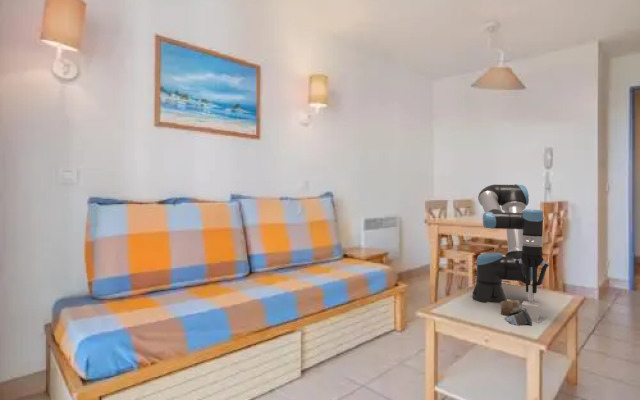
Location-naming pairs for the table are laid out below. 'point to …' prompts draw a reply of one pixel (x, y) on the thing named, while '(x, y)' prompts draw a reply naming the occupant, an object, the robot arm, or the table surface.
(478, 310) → the table surface
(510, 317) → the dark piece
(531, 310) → the plain block
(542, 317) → the mat
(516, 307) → the beech cube
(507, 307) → the walnut cylinder
